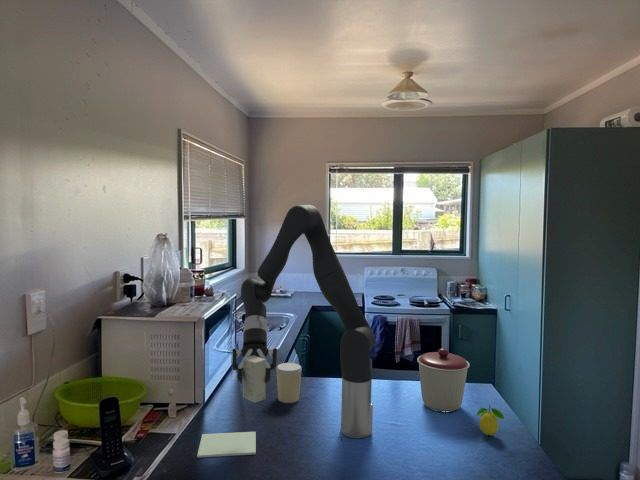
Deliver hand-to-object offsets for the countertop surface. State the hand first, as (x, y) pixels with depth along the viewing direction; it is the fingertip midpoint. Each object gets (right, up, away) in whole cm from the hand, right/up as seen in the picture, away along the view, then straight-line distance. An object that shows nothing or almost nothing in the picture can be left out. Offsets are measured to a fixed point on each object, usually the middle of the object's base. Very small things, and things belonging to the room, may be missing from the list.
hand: (253, 382), depth 131 cm
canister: (+63, -18, +27) cm, 71 cm away
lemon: (+72, -19, +6) cm, 75 cm away
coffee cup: (+8, -16, +31) cm, 36 cm away
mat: (-7, -17, -2) cm, 19 cm away
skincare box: (0, -6, +2) cm, 6 cm away
